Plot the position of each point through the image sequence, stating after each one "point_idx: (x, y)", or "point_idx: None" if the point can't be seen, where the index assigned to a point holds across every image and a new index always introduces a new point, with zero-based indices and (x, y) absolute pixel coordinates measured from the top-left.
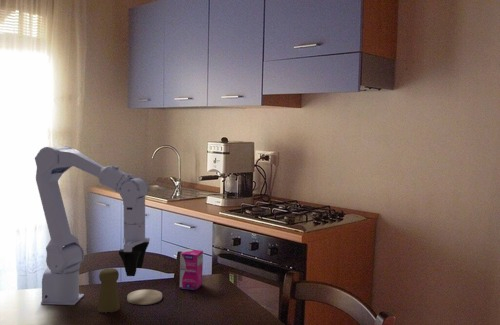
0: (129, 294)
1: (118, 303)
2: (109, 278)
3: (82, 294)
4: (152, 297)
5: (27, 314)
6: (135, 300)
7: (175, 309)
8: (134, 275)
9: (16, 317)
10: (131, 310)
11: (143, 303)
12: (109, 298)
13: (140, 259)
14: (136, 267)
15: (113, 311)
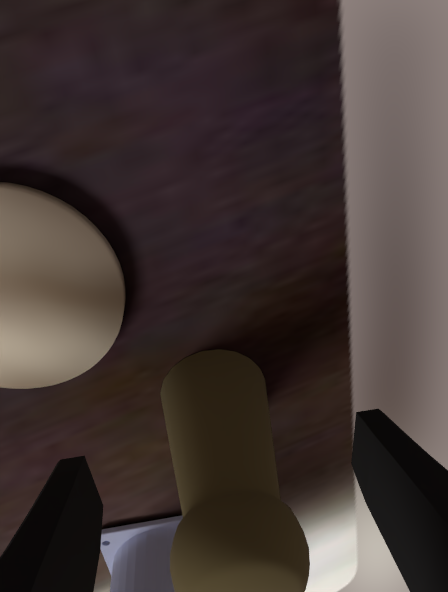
0: (37, 380)
1: (217, 371)
2: (301, 532)
3: (104, 537)
4: (29, 240)
5: (310, 566)
6: (119, 316)
7: (135, 8)
8: (381, 413)
9: (335, 573)
10: (216, 290)
11: (117, 264)
12: (267, 422)
13: (60, 562)
14: (413, 472)
15: (249, 360)
